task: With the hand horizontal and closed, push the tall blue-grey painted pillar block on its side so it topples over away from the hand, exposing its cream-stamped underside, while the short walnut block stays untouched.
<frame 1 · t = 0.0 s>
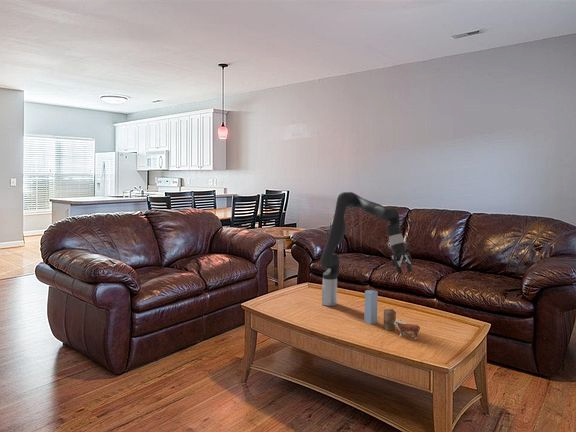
hand: (405, 272, 222), 31 cm above the table, tool tilted 20°, fingers open, 8 cm apart
walnut block: (389, 328, 227), on the table
bull figurine: (405, 337, 216), on the table
bluegrey block: (370, 322, 237), on the table
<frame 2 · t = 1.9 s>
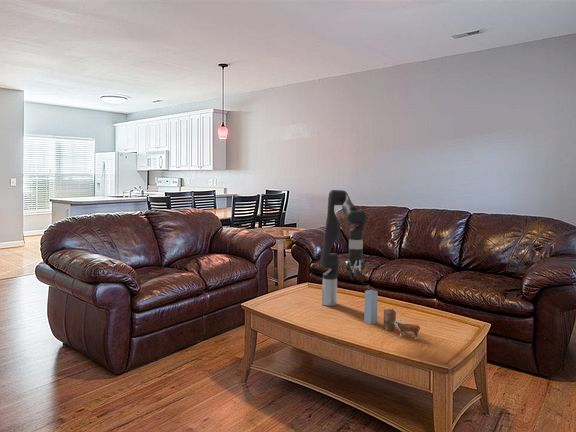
hand: (355, 278, 227), 27 cm above the table, tool pointing down, fingers open, 3 cm apart
nothing on the table moved.
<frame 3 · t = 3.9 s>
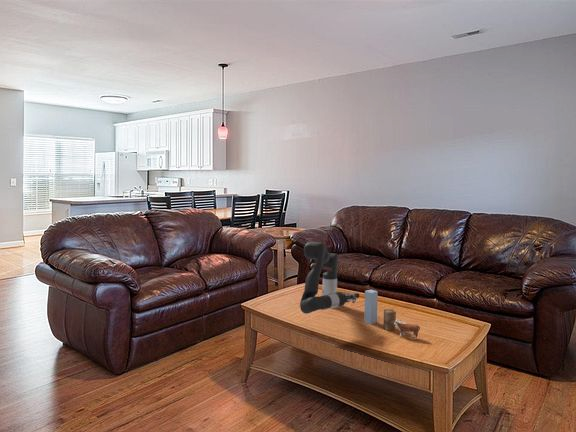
hand: (358, 295, 229), 17 cm above the table, tool horizontal, fingers closed
nothing on the table moved.
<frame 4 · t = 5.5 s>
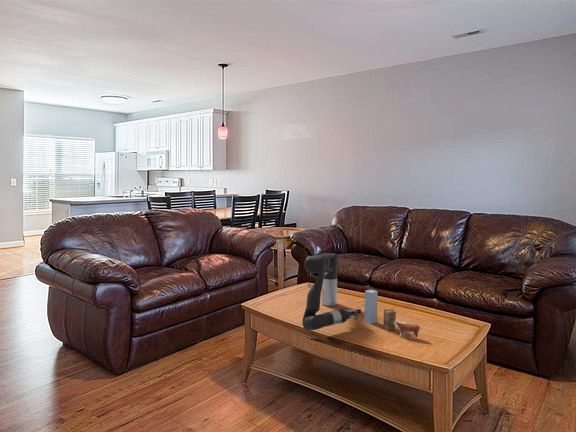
hand: (360, 311, 231), 8 cm above the table, tool horizontal, fingers closed
nothing on the table moved.
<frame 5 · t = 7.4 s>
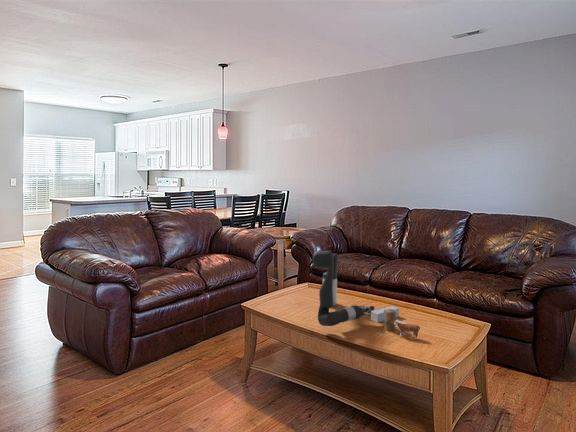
hand: (373, 307, 237), 8 cm above the table, tool horizontal, fingers closed
bluegrey block: (374, 317, 238), point 2 cm above the table, tilted 90°
everything else where it was.
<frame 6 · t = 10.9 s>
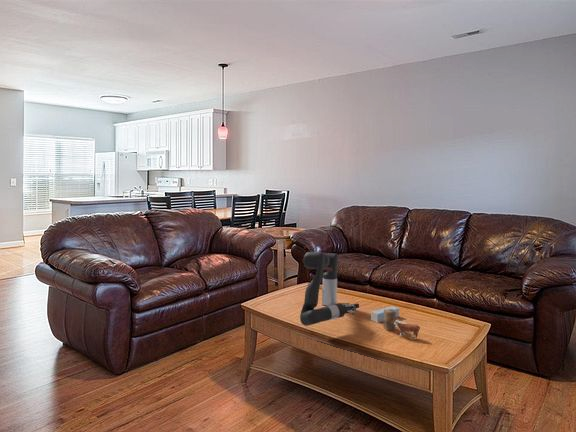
hand: (358, 305, 230), 11 cm above the table, tool horizontal, fingers closed
nothing on the table moved.
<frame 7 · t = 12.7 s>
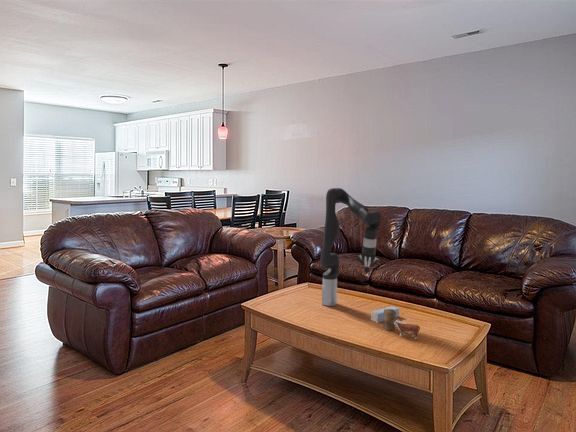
hand: (366, 272, 245), 26 cm above the table, tool pointing down, fingers closed
nothing on the table moved.
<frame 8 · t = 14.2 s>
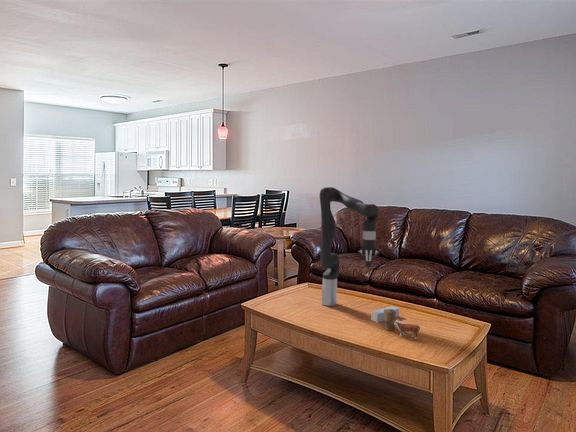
hand: (368, 267, 246), 29 cm above the table, tool pointing down, fingers closed
nothing on the table moved.
at the end: bluegrey block tilted 90°; bluegrey block inside the target area (1.1 cm from its centre), point 2.4 cm above the table; walnut block moved 0.0 cm from its start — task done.
